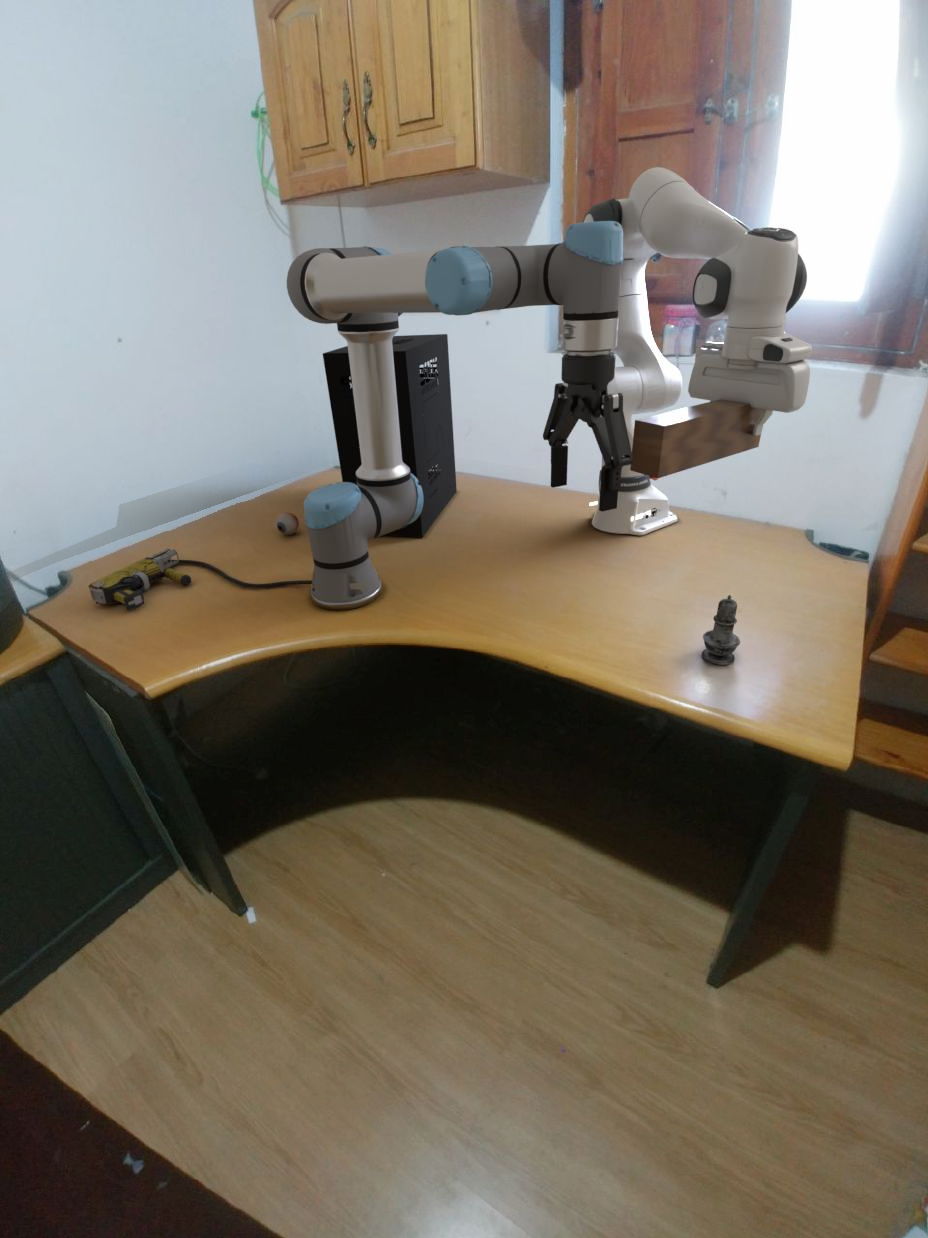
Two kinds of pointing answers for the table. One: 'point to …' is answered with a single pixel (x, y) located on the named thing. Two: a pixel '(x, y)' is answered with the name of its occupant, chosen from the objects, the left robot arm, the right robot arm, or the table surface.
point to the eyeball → (287, 523)
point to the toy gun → (136, 580)
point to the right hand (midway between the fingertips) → (736, 430)
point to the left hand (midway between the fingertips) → (581, 497)
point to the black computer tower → (405, 420)
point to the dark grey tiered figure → (722, 635)
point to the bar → (692, 437)
